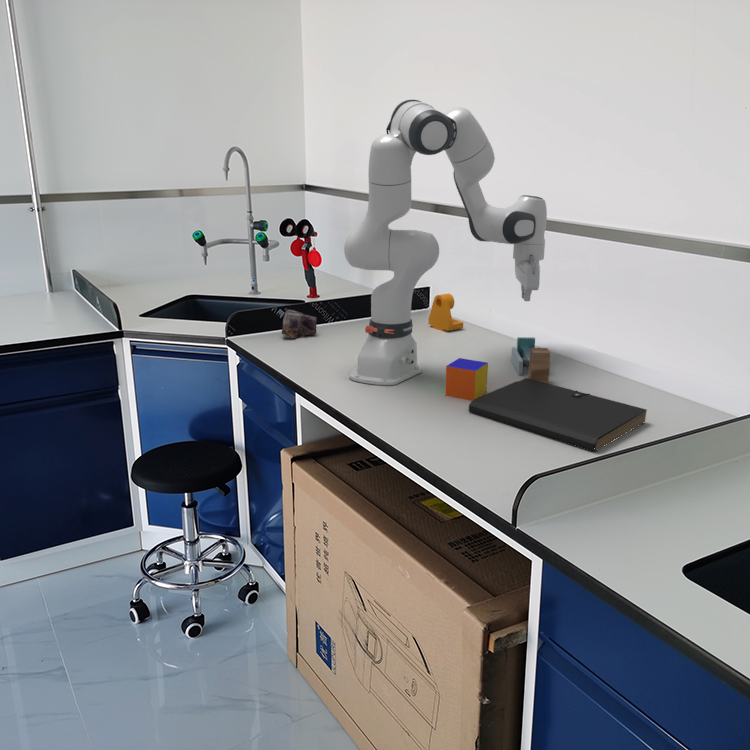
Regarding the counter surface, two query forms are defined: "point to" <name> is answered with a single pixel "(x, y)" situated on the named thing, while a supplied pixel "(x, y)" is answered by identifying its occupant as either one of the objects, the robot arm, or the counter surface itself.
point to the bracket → (443, 314)
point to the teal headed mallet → (525, 348)
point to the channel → (518, 361)
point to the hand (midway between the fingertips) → (525, 299)
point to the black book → (559, 413)
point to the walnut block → (539, 364)
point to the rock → (298, 324)
